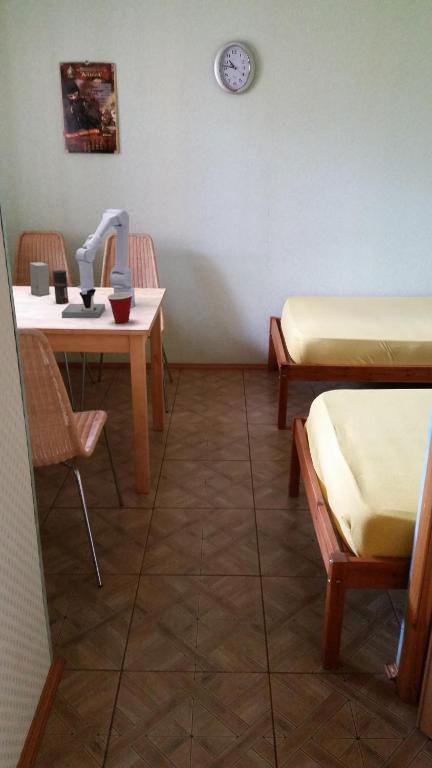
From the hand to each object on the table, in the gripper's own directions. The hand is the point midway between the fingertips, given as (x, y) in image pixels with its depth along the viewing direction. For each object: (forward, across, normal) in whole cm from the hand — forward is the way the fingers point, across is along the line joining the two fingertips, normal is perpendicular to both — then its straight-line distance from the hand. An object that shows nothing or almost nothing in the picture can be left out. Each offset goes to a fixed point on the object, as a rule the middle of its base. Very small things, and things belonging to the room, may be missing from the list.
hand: (88, 306), depth 274 cm
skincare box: (+4, -42, -33) cm, 54 cm away
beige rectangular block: (+3, 0, 0) cm, 3 cm away
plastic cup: (+4, +12, +16) cm, 20 cm away
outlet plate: (+4, -3, -3) cm, 6 cm away
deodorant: (+4, -24, -18) cm, 30 cm away
